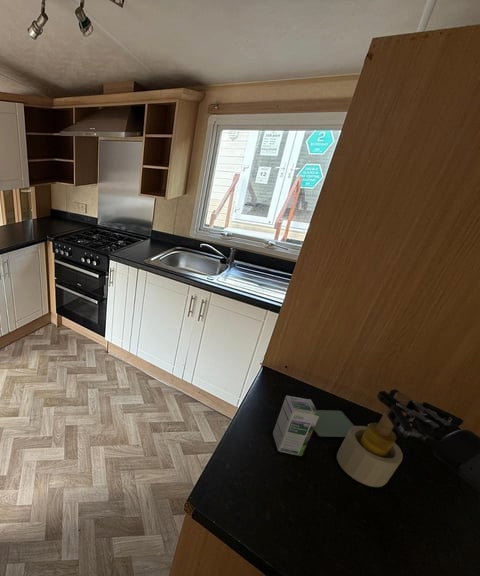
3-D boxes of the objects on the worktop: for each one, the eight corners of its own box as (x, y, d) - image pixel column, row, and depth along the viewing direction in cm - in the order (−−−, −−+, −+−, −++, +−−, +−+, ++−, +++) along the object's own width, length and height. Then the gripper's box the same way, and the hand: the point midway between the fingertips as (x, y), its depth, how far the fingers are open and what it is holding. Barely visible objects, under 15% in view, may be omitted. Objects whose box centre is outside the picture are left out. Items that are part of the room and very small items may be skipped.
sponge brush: (375, 437, 76) (405, 387, 68) (393, 456, 71) (426, 405, 64) (355, 436, 76) (381, 387, 69) (370, 455, 71) (401, 405, 64)
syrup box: (277, 452, 80) (293, 412, 74) (271, 433, 86) (286, 394, 79) (302, 457, 79) (320, 416, 73) (294, 437, 84) (311, 398, 78)
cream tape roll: (365, 450, 81) (379, 426, 77) (397, 488, 72) (414, 463, 68) (327, 449, 81) (339, 425, 77) (354, 487, 73) (369, 462, 69)
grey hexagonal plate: (340, 411, 92) (341, 410, 92) (363, 438, 84) (363, 437, 84) (299, 410, 93) (300, 409, 92) (318, 437, 85) (319, 436, 84)
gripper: (526, 446, 54) (419, 376, 69) (459, 457, 52) (364, 383, 67) (501, 473, 57) (404, 401, 72) (437, 484, 55) (352, 408, 71)
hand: (385, 393), depth 70 cm, fingers closed on sponge brush, 2 cm apart
